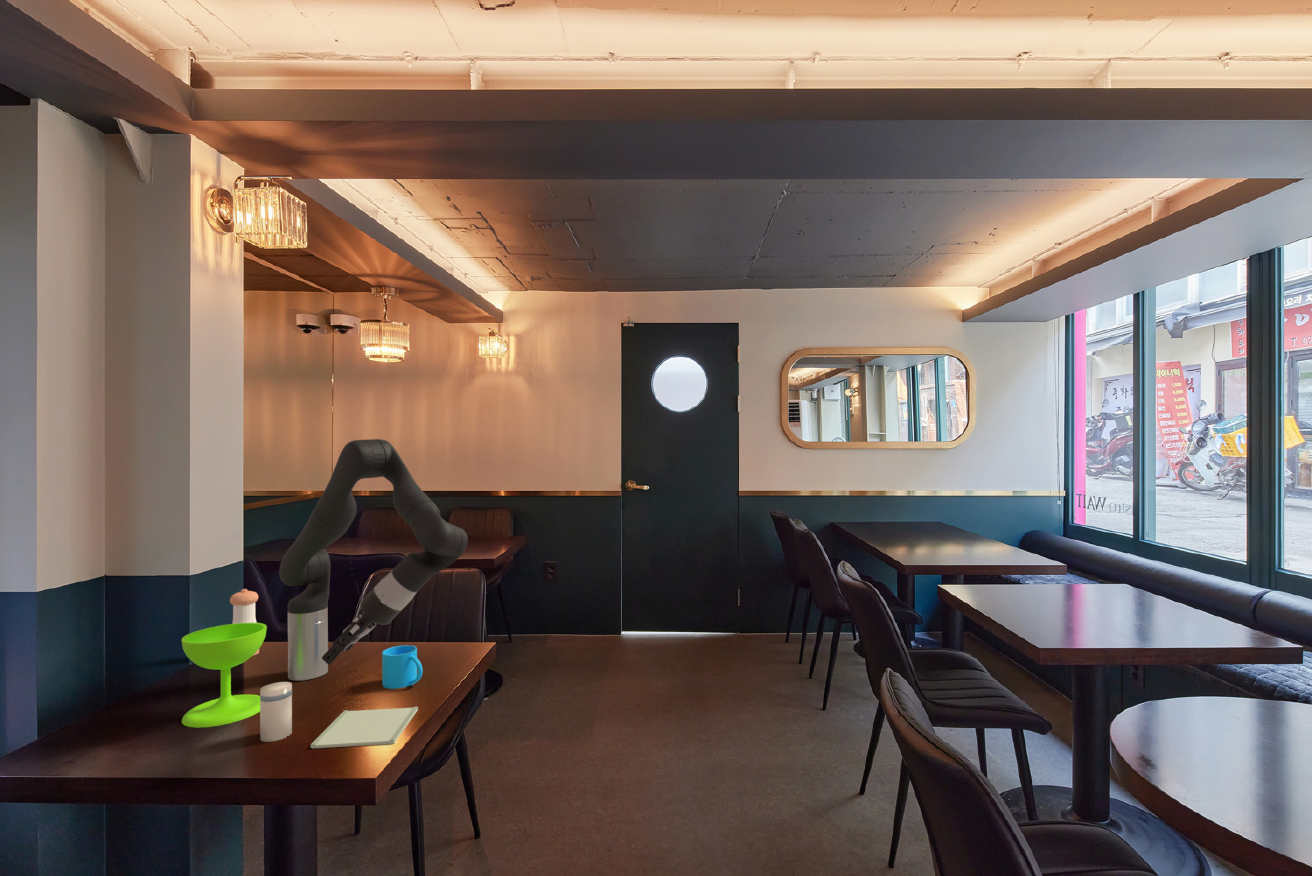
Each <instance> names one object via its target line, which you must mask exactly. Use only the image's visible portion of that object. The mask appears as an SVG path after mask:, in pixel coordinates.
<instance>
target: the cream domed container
mask: <svg viewBox="0 0 1312 876" xmlns="http://www.w3.org/2000/svg"><path fill="white" fill-rule="evenodd" d="M259 691H260V692H259V696H260V712H259V717H260V719H259V720H260V721H259V726H260V729H259V733H260V736H259V737H260V741H261V742H265V743H270V742H271V743H272V742H277V741H280V740H283V739H286V738H288V737H290V736H291V735H292V733H293V684H292V682H291V681H290V682H289V681H278V682H273V683H270V684H267V685H264V686H262V687H261V688H260V690H259ZM290 734H291V735H290ZM287 736H288V737H287Z"/></svg>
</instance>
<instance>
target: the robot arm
mask: <svg viewBox="0 0 1312 876" xmlns="http://www.w3.org/2000/svg"><path fill="white" fill-rule="evenodd" d="M374 478H385V479H386V480H388V482H390V483H391V484H392V487H393V488H392V502H393V508H394V509H395V510H396V512H397V513H398V515H399V516H400V518H402V519H403V521H404V522H405V523H406V524H407V525H408V527H410V528H411V531H412V532H413V535H414V537H415V538H416V540H417V542H418V543H419V545H420V546H421V547H422V548H423V549H424V550H423V551H420V552H419V551H418V552H411V553H409V554H407V555H406V556H405V557H404V558H402V560H401V561H400V562H399V563H398V564H397V565H396V566H395V567H394V568H393V569H392V570H391V571H390V572H389V573H388V574H386V575H385V576H384V577H383V578H382V579H381V580H380V581H379V582H378V583H377V584H376V585H375V586H373V588H372V589H371V591H369V592H368V593H367V594H366V596H364V598H362V599H361V602H360V608H361V610H362V613H361V614H360V615H357V616H356V617H355V618H354V619H352V622H351V623H350V624H349V625H348V626H347V627H346V628H345V629H343V631H342V632H341V634H340V635H339V636H338V637H337V638H336V639H335V640H334V641H333V642H332V643H331V645H332V646H331V647H330V648H329V636H328V635H329V632H328V631H329V629H328V626H329V623H328V621H329V619H328V617H329V615H328V611H329V610H328V607H329V606H328V603H329V602H328V601H329V599H330V583H331V582H330V581H331V557H330V554H329V552H328V551H327V550H326V548H327V547H328V546H329V545H331V544H333V543H334V542H336V541H337V540H339V539H340V538H341V537H342V536H344V534H345V533H347V531H348V530H349V527H350V526H351V524H352V523H353V521H354V519H355V517H356V515H357V509H358V508H357V502H356V499H355V497H354V495H353V493H352V491H353V489H354V487H355V485H356V484H357V483H358V482H359V481H360V480H363V479H374ZM438 507H439V506H437V505H436V503H435V502H434V501H433V500H431V498H430V497H429V496H428V495H427V494H426V493H425V492H424V491H423V490H422V489H421V487H420V486H419V485H418V484H417V482H416V480H415V479H414V477H413V476H412V474H411V472H410V471H409V468H408V466H406V464H405V462H404V461H403V459H402V458H401V456H400V454H399V453H398V451H397V450H396V448H395V447H394V445H392V444H391V443H390V442H389V441H387V440H386V439H379V438H376V439H375V438H374V439H372V438H371V439H370V438H369V439H354V440H351V441H349V442H347V443H346V444H345V445H344V446H343V448H342V450H341V452H340V454H339V456H338V459H337V462H336V464H335V466H334V469H333V472H332V474H331V477H330V479H329V481H328V483H327V485H326V487H325V489H324V491H323V492H322V494H321V497H320V498H319V500H318V501H317V503H316V505H315V507H314V508H313V510H312V512H311V513H310V515H309V518H308V520H307V522H306V523H305V525H304V526H303V528H302V530H301V531H300V533H299V534H298V536H297V538H296V539H295V540H294V542H293V543H292V545H290V546H289V548H288V549H287V551H286V552H285V554H284V555H283V557H282V559H281V562H280V565H279V571H278V573H279V578H280V581H281V582H282V583H283V584H284V585H286V586H289V587H298V586H299V587H300V586H304V585H307V587H306V588H305V590H303V591H302V592H300V594H298V595H296V596H295V597H293V598H291V599H290V600H289V601H288V603H287V679H288V680H291V681H307V680H311V679H316V678H319V677H322V676H325V675H326V674H327V673H328V672H329V665H330V664H332V663H333V662H334V661H335V660H336V659H337V658H338V657H339V656H340V655H341V654H342V653H343V652H344V651H345V652H349V650H350V649H351V648H352V647H354V645H355V644H356V643H357V642H358V641H359V640H360V639H361V638H363V637H364V636H366V635H368V634H369V633H370V632H371V631H372V630H374V628H375V627H376V626H377V624H378V625H382V626H386V625H389V624H390V623H391V622H392V621H393V620H394V619H395V618H396V617H397V616H398V615H399V614H400V613H401V612H402V610H403V609H404V608H405V607H406V606H408V604H409V603H410V602H411V601H412V600H413V598H414V597H415V595H416V594H417V593H418V591H420V590H421V589H422V588H423V587H424V586H425V585H426V584H427V582H428V581H429V580H431V578H432V577H433V576H435V575H436V574H438V573H440V572H441V571H444V569H446V568H447V567H448V566H450V565H451V564H453V563H454V562H456V561H457V560H458V559H459V558H460V557H461V556H462V555H463V553H464V552H465V550H466V548H467V546H468V542H469V538H468V534H467V532H466V531H465V530H464V529H463V528H461V527H459V526H457V525H454V524H451V523H449V522H447V521H446V520H445V519H443V518H442V517H441V510H440V508H438Z"/></svg>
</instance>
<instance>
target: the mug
mask: <svg viewBox="0 0 1312 876" xmlns="http://www.w3.org/2000/svg"><path fill="white" fill-rule="evenodd" d="M381 655H382V656H381V660H382V661H381V665H382V667H381V669H382V671H381V672H382V679H381V680H382V682H381V683H382V684H381V685H383V686H382V688H385V689H390V690H393V689H394V690H395V689H402V688H407V687H409V686H412V685H414V684H416V683H418V682H419V681H420V680H421V679H422V676H423V673H424V672H423V671H424V670H423V665H422V663H421V661H420V660H419V658H418V648H417V646H415V645H406V644H405V645H403V644H402V645H397V646H392V647H388V648H386V649H384V650H383V651H382V653H381Z"/></svg>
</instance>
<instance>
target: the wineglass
mask: <svg viewBox="0 0 1312 876" xmlns="http://www.w3.org/2000/svg"><path fill="white" fill-rule="evenodd" d="M267 629H268V628H267V624H265V623H261V622H257V623H236V624H232V623H229V624H221V625H217V626H211V627H207V628H202V629H200V630H196V631H193V632H190V633H188V634H186V635H184V636H182V638H181V645H182V650H183V652H184V653H185V656H186V657H187V658H188V659H189V660H191V662H192V663H194V664H195V665H196V666H198V667H200V668H204V669H206V670H220V696H219V698H216V699H211V700H209V701H205V702H203V703H201V704H198V705H196V706H194V707H193V708H191V709H190V710H188V711H187V712H186V713H184V715H183V716H182V719H181V724H182V725H183V726H185V727H188V728H195V729H196V728H197V729H199V728H211V727H219V726H223V725H228V724H233V723H236V722H240V721H242V720H245V719H247V718H251V717H252V716H254V715H256V714H258V713H260V695H258V694H233V695H232V690H231V689H232V684H231V682H232V674H231V672H232V671H231V669H232V668H234V667H237V666H239V665H241V664H243V663H245V662H246V661H248V660H250V658H252V657H253V655H254V654H255V653H256V652H257V650H258V649H259V650H260V648H261V647H262V645H263V643H264V640H265V638H266V637H267V636H266V635H267ZM254 656H255V655H254Z"/></svg>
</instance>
